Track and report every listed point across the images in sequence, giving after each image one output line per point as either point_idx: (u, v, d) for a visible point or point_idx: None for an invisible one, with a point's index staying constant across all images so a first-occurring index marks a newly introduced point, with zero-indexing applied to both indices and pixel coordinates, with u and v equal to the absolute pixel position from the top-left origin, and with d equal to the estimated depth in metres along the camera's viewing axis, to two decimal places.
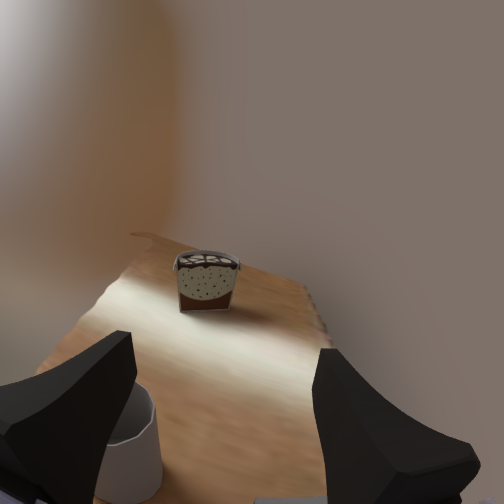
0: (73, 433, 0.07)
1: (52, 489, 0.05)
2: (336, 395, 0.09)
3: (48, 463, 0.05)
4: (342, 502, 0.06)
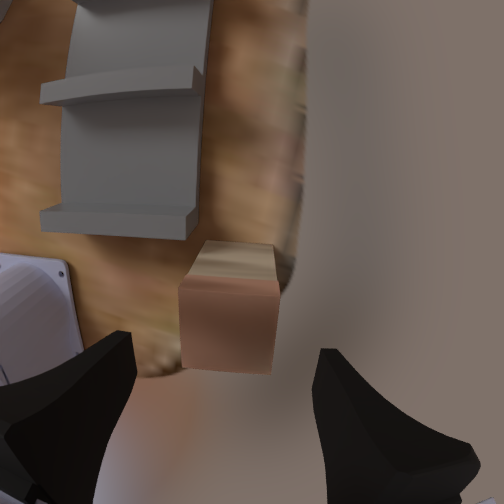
0: (73, 433, 0.07)
1: (52, 489, 0.05)
2: (336, 395, 0.09)
3: (48, 463, 0.05)
4: (342, 502, 0.06)
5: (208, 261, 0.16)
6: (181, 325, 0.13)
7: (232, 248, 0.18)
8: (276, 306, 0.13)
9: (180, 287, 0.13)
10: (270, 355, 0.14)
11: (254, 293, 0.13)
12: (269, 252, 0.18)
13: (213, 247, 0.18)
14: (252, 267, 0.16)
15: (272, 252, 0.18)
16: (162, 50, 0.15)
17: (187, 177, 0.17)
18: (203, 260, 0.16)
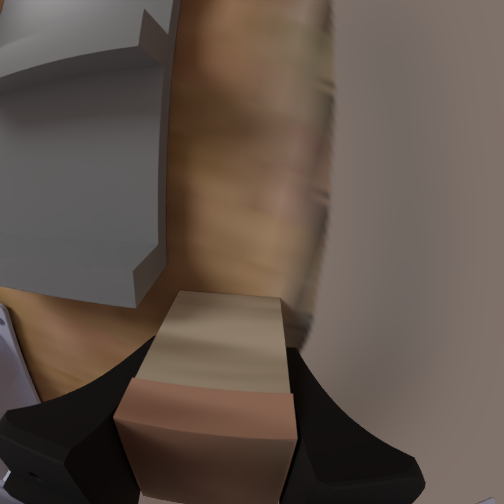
0: (122, 447, 0.07)
1: None
2: None
3: (102, 483, 0.05)
4: None
5: (174, 342, 0.09)
6: (130, 458, 0.07)
7: (218, 308, 0.11)
8: (289, 450, 0.06)
9: (117, 413, 0.06)
10: (275, 496, 0.07)
11: (249, 430, 0.06)
12: (275, 317, 0.11)
13: (188, 307, 0.11)
14: (247, 357, 0.09)
15: (280, 317, 0.11)
16: (111, 5, 0.08)
17: (143, 198, 0.10)
18: (166, 339, 0.09)
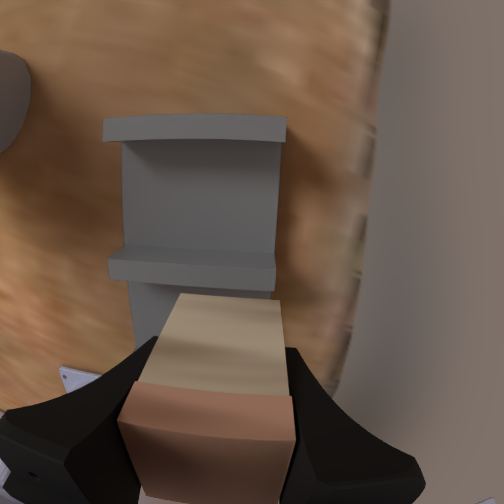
0: (122, 447, 0.07)
1: None
2: None
3: (102, 482, 0.05)
4: None
5: (176, 345, 0.09)
6: (133, 460, 0.07)
7: (218, 311, 0.12)
8: (288, 451, 0.06)
9: (120, 417, 0.06)
10: (275, 495, 0.07)
11: (249, 433, 0.06)
12: (274, 319, 0.11)
13: (189, 310, 0.12)
14: (247, 360, 0.09)
15: (280, 319, 0.11)
16: (232, 222, 0.18)
17: None
18: (168, 343, 0.10)
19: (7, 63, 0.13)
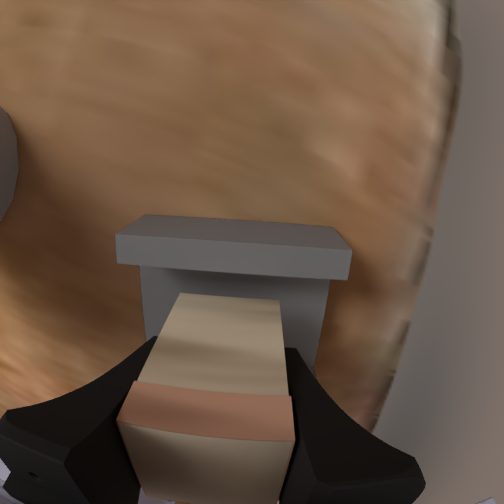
0: (122, 447, 0.07)
1: None
2: None
3: (102, 482, 0.05)
4: None
5: (175, 345, 0.09)
6: (132, 459, 0.07)
7: (218, 311, 0.12)
8: (287, 451, 0.06)
9: (119, 417, 0.06)
10: (274, 495, 0.07)
11: (248, 432, 0.06)
12: (273, 319, 0.11)
13: (188, 310, 0.12)
14: (246, 360, 0.09)
15: (279, 319, 0.11)
16: None
17: None
18: (167, 342, 0.10)
19: None
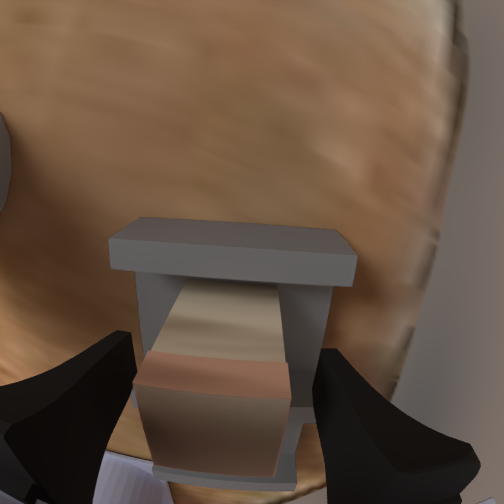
0: (73, 433, 0.07)
1: (52, 489, 0.05)
2: (336, 395, 0.09)
3: (48, 463, 0.05)
4: (342, 502, 0.06)
5: (184, 321, 0.11)
6: (145, 424, 0.08)
7: (222, 294, 0.13)
8: (284, 410, 0.08)
9: (135, 379, 0.08)
10: (274, 460, 0.08)
11: (250, 391, 0.08)
12: (272, 301, 0.13)
13: (195, 293, 0.13)
14: (248, 334, 0.10)
15: (277, 301, 0.13)
16: None
17: (290, 439, 0.17)
18: (177, 319, 0.11)
19: None
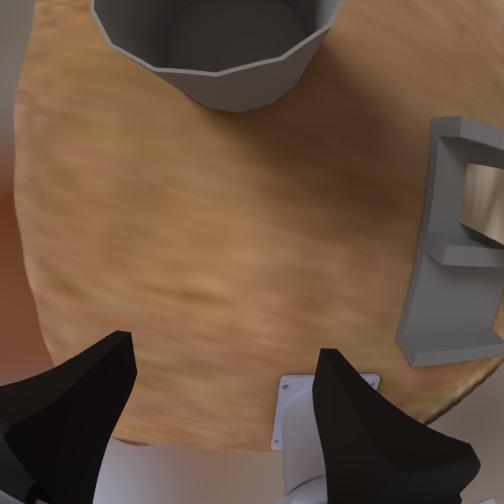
0: (73, 433, 0.07)
1: (52, 489, 0.05)
2: (336, 395, 0.09)
3: (48, 463, 0.05)
4: (342, 502, 0.06)
5: None
6: None
7: None
8: None
9: None
10: None
11: None
12: None
13: None
14: None
15: None
16: None
17: (492, 310, 0.20)
18: (503, 169, 0.13)
19: (301, 4, 0.13)
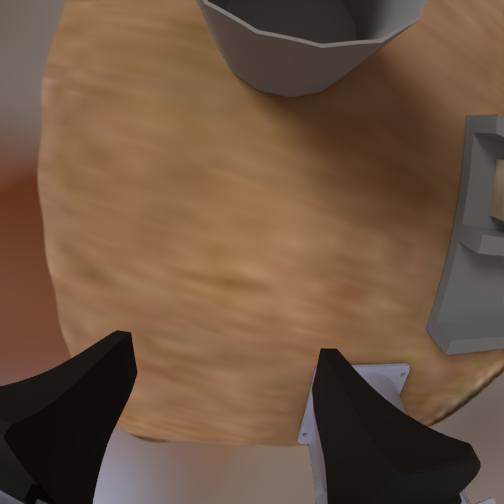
0: (73, 433, 0.07)
1: (52, 489, 0.05)
2: (336, 395, 0.09)
3: (48, 463, 0.05)
4: (342, 502, 0.06)
5: None
6: None
7: None
8: None
9: None
10: None
11: None
12: None
13: None
14: None
15: None
16: None
17: None
18: None
19: None
